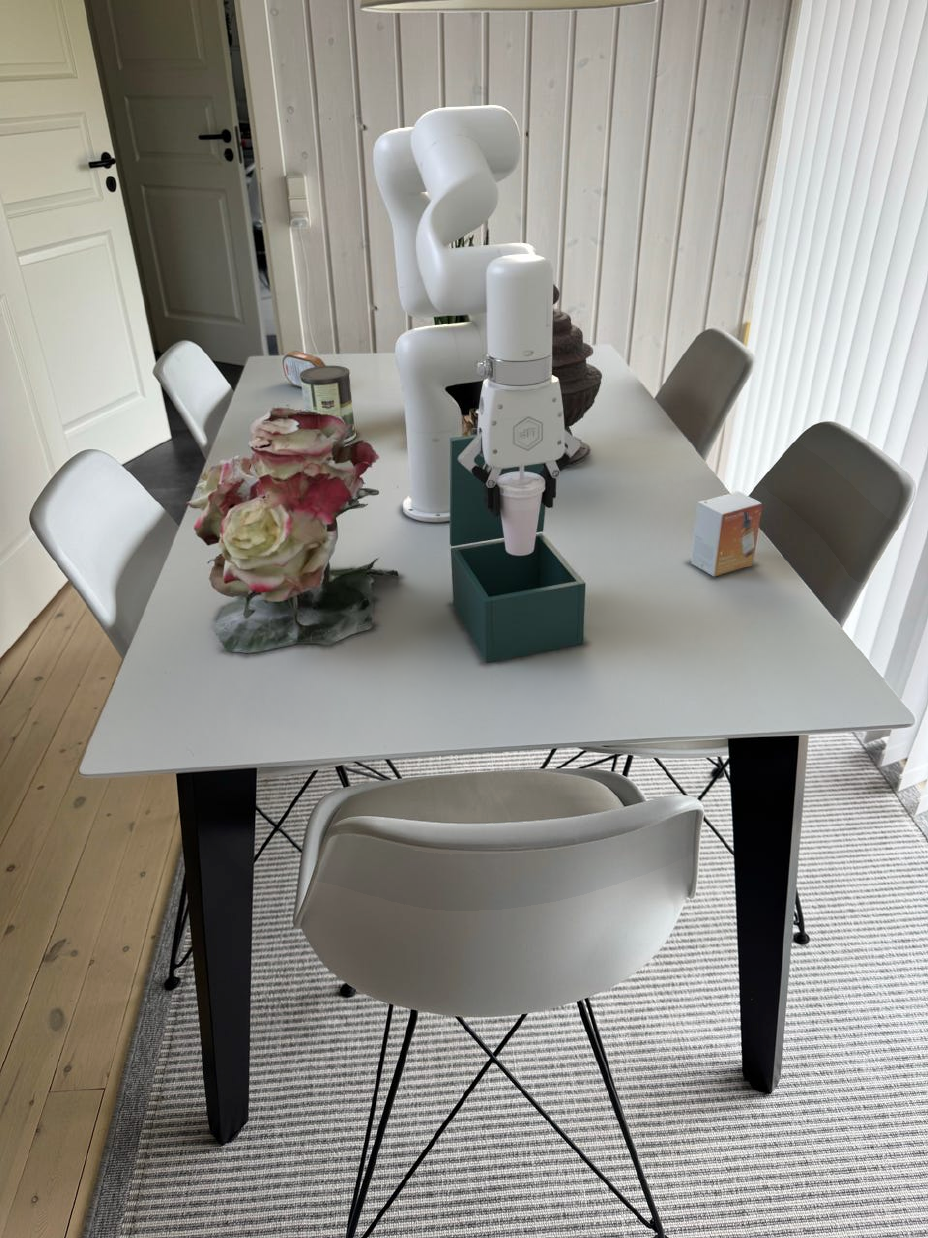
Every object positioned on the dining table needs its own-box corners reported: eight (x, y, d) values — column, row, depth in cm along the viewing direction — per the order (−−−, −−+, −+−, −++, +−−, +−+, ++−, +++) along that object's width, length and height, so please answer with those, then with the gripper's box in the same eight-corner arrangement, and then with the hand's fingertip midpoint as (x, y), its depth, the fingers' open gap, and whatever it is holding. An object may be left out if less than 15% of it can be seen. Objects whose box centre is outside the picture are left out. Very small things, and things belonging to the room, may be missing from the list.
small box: (713, 578, 136) (721, 514, 131) (689, 563, 141) (696, 501, 135) (754, 565, 139) (763, 502, 134) (729, 551, 144) (737, 489, 138)
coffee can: (342, 425, 200) (335, 362, 193) (364, 438, 193) (358, 372, 186) (299, 436, 195) (291, 371, 188) (321, 449, 188) (312, 382, 181)
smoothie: (551, 543, 120) (553, 442, 113) (533, 564, 115) (535, 460, 108) (506, 535, 122) (506, 436, 115) (487, 555, 118) (486, 453, 110)
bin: (583, 643, 122) (585, 583, 117) (486, 663, 119) (484, 601, 114) (541, 589, 135) (542, 532, 130) (453, 605, 132) (450, 547, 127)
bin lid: (552, 427, 119) (538, 408, 123) (451, 440, 116) (440, 421, 120) (543, 531, 130) (530, 511, 134) (451, 546, 127) (440, 525, 131)
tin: (332, 391, 222) (328, 357, 217) (322, 395, 220) (318, 360, 215) (292, 381, 230) (288, 347, 226) (283, 384, 228) (278, 350, 224)
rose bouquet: (222, 570, 144) (185, 384, 128) (405, 567, 142) (390, 379, 127) (173, 661, 122) (121, 450, 106) (388, 659, 121) (368, 444, 105)
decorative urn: (594, 431, 189) (594, 257, 169) (609, 475, 173) (611, 287, 153) (497, 439, 190) (486, 267, 170) (503, 484, 173) (491, 298, 153)
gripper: (458, 386, 101) (463, 530, 111) (600, 368, 105) (594, 509, 115) (440, 368, 107) (447, 506, 117) (575, 352, 111) (571, 487, 121)
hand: (520, 506), depth 116 cm, fingers closed on smoothie, 6 cm apart
